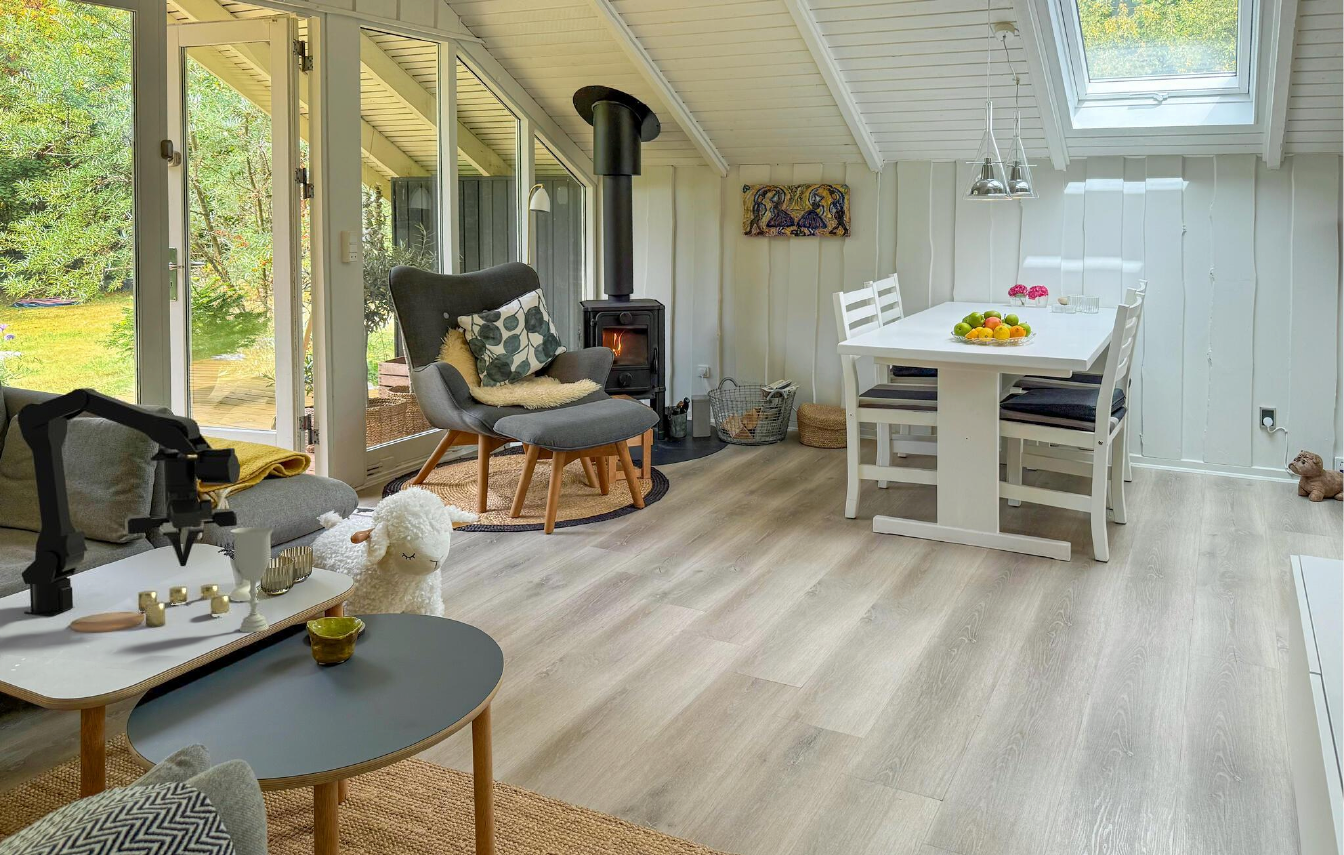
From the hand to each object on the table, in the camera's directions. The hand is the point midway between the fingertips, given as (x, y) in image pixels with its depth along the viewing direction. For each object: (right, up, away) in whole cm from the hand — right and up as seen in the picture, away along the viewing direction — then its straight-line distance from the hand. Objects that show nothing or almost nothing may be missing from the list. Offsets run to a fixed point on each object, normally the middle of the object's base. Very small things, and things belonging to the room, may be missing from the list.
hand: (182, 566), depth 200 cm
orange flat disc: (-11, -10, -6) cm, 16 cm away
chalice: (+17, -10, -9) cm, 22 cm away
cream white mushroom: (+9, -9, +9) cm, 15 cm away
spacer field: (0, -9, +1) cm, 10 cm away
